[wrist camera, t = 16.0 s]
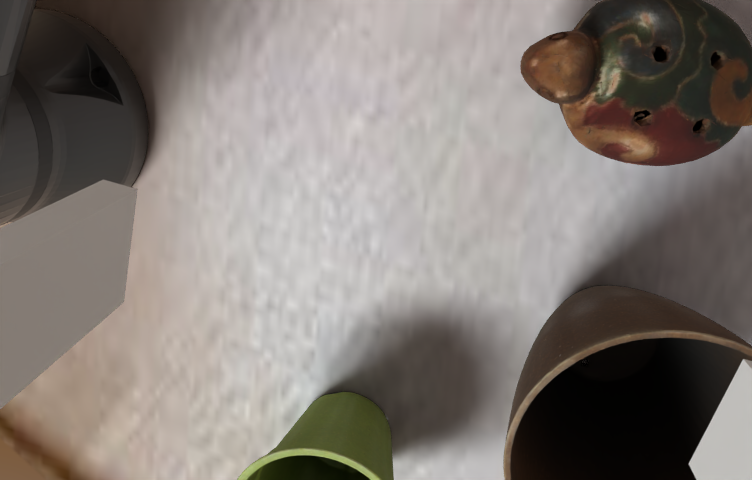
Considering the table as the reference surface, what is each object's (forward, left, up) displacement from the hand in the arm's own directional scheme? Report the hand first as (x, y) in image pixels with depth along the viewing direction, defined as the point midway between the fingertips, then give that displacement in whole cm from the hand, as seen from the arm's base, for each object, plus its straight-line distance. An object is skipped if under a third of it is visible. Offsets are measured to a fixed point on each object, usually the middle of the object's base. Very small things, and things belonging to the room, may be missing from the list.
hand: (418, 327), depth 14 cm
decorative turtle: (+9, +6, -32) cm, 34 cm away
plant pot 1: (-1, -26, -32) cm, 41 cm away
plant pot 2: (+14, -11, -32) cm, 37 cm away
